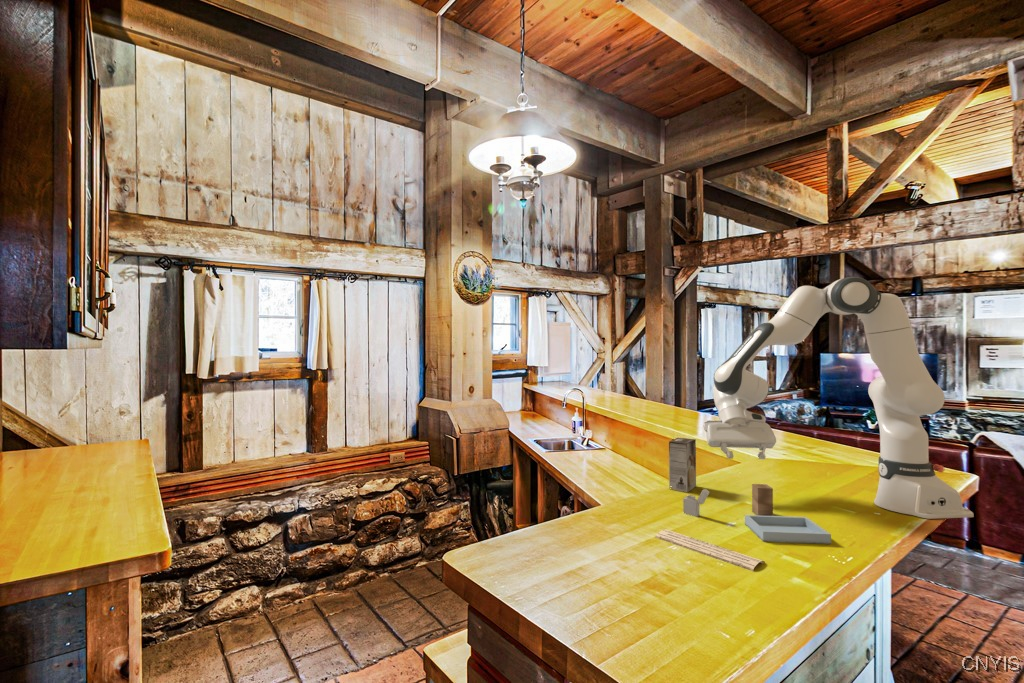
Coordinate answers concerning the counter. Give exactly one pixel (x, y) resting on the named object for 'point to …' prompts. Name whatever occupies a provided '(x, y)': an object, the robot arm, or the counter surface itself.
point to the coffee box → (682, 464)
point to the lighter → (694, 503)
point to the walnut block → (762, 500)
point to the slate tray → (787, 529)
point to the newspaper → (709, 549)
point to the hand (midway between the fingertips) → (746, 458)
